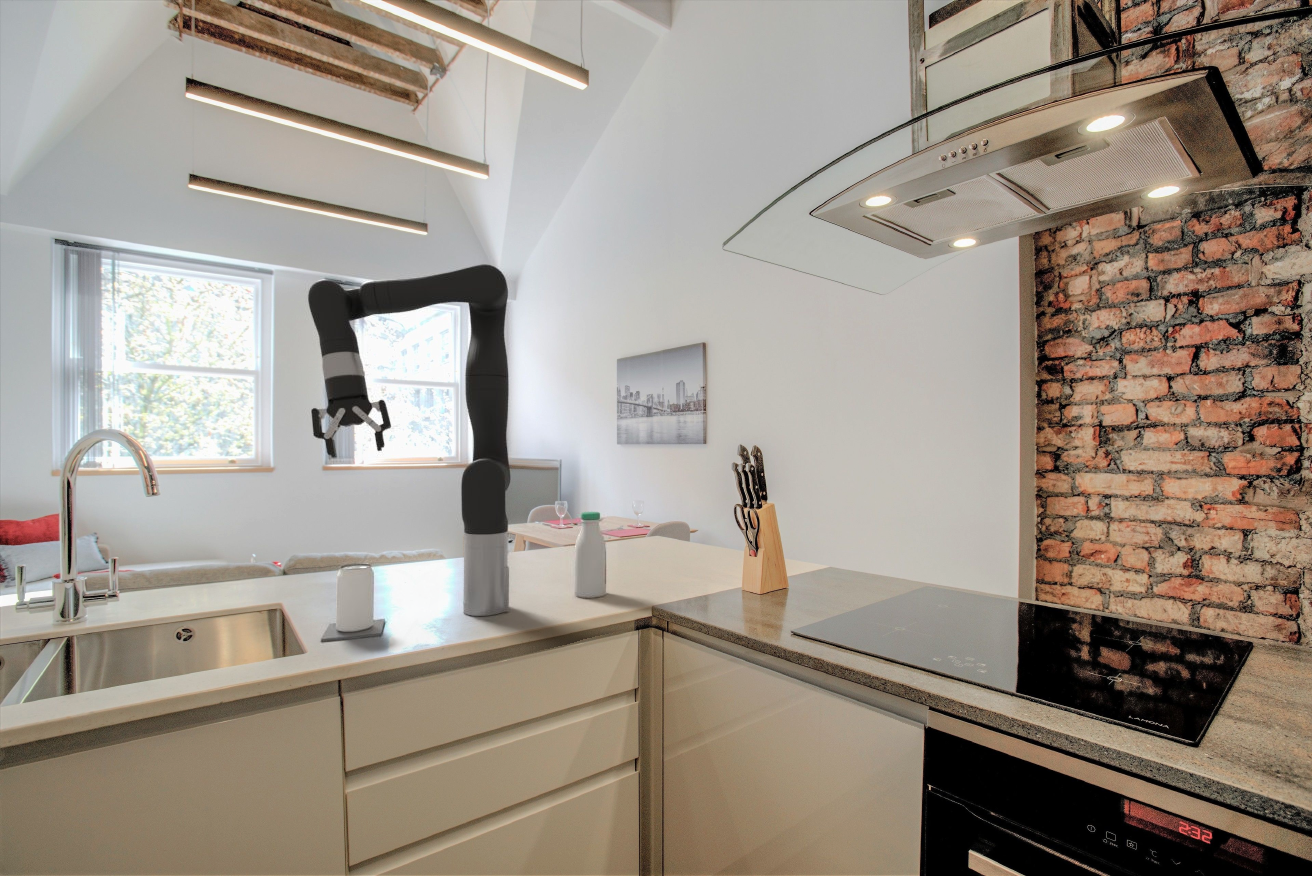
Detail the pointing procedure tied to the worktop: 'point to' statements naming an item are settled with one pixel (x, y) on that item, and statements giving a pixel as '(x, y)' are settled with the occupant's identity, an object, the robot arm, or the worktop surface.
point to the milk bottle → (590, 558)
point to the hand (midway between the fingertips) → (357, 454)
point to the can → (355, 598)
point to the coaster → (334, 634)
